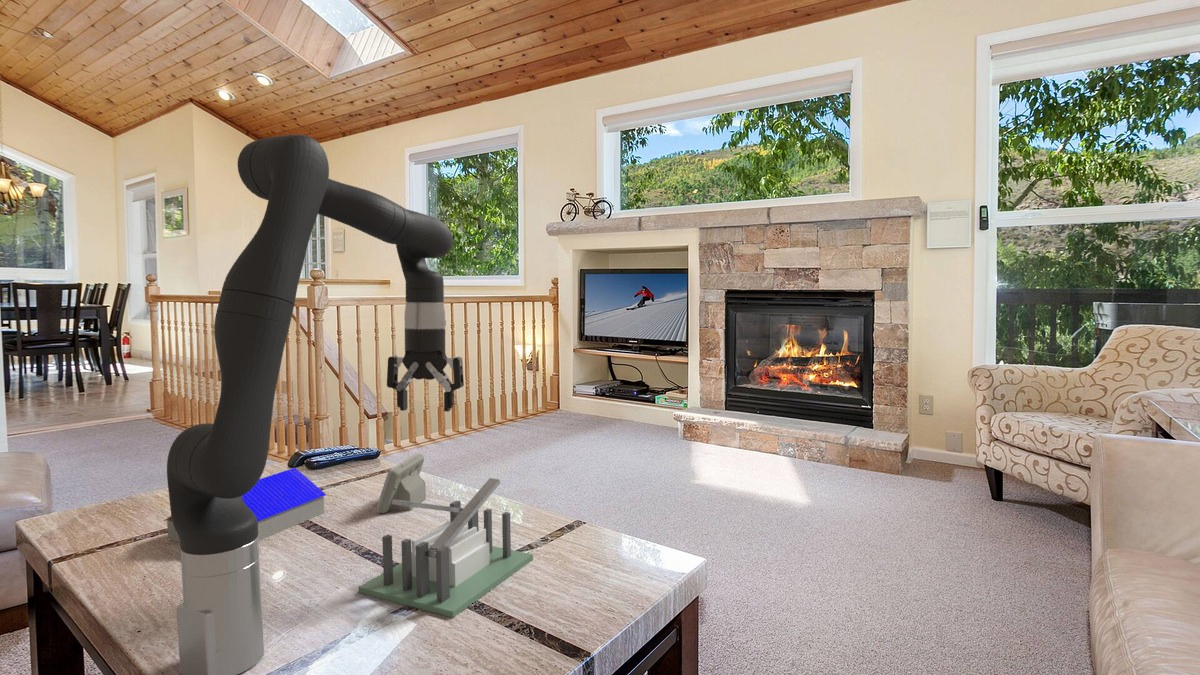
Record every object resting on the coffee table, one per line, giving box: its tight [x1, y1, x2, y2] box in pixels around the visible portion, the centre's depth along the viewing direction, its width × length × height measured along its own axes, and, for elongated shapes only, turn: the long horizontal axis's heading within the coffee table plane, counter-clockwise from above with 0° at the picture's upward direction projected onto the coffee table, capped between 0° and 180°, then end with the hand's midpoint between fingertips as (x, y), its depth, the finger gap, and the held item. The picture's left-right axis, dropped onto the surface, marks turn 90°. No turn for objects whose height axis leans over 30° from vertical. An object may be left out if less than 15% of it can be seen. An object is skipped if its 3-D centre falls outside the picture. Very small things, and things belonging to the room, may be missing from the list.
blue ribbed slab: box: [163, 467, 327, 543], centre depth 141 cm, size 19×25×10 cm
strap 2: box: [425, 477, 501, 558], centre depth 114 cm, size 20×2×1 cm, turn 154°
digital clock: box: [376, 453, 427, 514], centre depth 155 cm, size 16×9×11 cm, turn 160°
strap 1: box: [392, 499, 464, 513], centre depth 118 cm, size 20×2×1 cm, turn 155°
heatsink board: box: [357, 500, 534, 619], centre depth 117 cm, size 24×20×10 cm
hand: (425, 410), depth 125 cm, fingers open, 8 cm apart
